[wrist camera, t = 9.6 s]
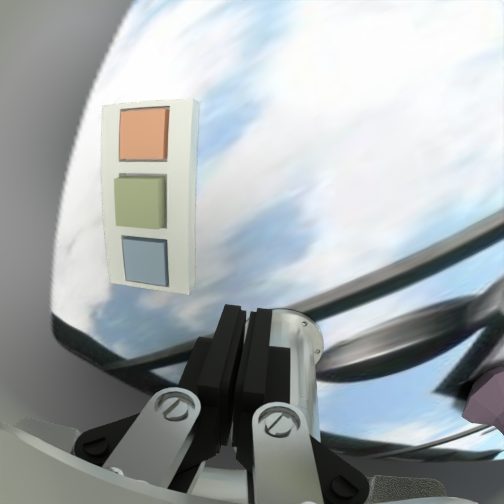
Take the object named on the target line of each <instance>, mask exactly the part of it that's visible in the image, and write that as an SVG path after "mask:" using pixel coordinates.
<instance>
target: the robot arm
mask: <svg viewBox="0 0 504 504" xmlns="http://www.w3.org/2000/svg"><path fill="white" fill-rule="evenodd" d="M304 321H305V322H304ZM323 348H324V345H323V337H322V333H321V331H320V328H319V327H318V326H317V324H316V323H315V322H314V321H313V320H312V319H310V318H309V317H307V316H306V315H304V314H302V313H299V312H296V311H292V310H287V309H275V310H271V309H262V308H257V312H252V311H251V313H250V318H249V320H248V321H247V322H246V311H243V310H241V306H235V305H227V304H225V306H224V309H223V312H222V315H221V318H220V320H219V323H218V326H217V329H216V332H215V335H214V337H213V339H212V338H205V337H198V339H197V341H196V343H195V346H194V348H193V350H192V353H191V355H190V358H189V360H188V362H187V365H186V367H185V370H184V372H183V374H182V377H181V379H180V382H179V384H178V386H177V388H167V389H163V390H161V391H159V392H157V393H156V394H155V395H154V396H153V397H152V398H151V399H150V400H149V402H148V403H147V405H146V406H145V408H144V409H143V410H142V412H141V413H139V414H136V415H133V416H130V417H127V418H124V419H121V420H119V421H116V422H113V423H109V424H106V425H103V426H100V427H97V428H94V429H91V430H88V431H86V432H84V433H81V432H79V431H78V429H75V428H70V427H65V426H60V425H56V424H51V423H47V422H43V421H39V420H36V419H32V418H24V419H20V420H19V421H17V422H16V423H15V424H14V426H11V425H8V424H5V423H2V422H0V504H478V503H476V502H474V501H470V500H467V499H461V498H455V497H446V492H445V488H444V487H443V485H442V484H441V483H440V482H438V481H437V480H434V479H423V478H402V477H388V476H378V475H376V476H375V477H374V478H371V477H365V476H364V475H363V474H362V473H361V472H360V471H358V470H357V469H355V468H354V467H352V466H351V465H350V464H348V463H347V462H345V461H344V460H343V459H341V458H340V457H339V456H337V455H336V454H335V453H333V452H332V451H331V450H329V449H328V448H327V447H325V446H324V445H323V444H321V443H320V428H319V412H318V398H317V385H316V373H315V364H316V363H317V362H318V361H319V359H320V357H321V355H322V352H323ZM232 419H233V423H232ZM231 424H232V429H231ZM230 429H231V441H232V447H233V448H234V450H235V452H236V459H237V460H238V461H239V462H240V463H241V464H242V465H243V466H244V467H245V468H246V470H227V469H217V468H208V467H204V465H205V461H206V460H208V459H209V458H211V457H213V456H215V455H216V453H219V452H220V447H221V445H225V446H227V443H228V439H229V434H230Z"/></svg>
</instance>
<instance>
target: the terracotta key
mask: <svg viewBox="0 0 504 504" xmlns="http://www.w3.org/2000/svg"><path fill="white" fill-rule="evenodd" d="M169 113H170V110H168V109H152V110H137V111H125V112H121V123H120V159H164V158H167V156H168V131H169Z"/></svg>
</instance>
